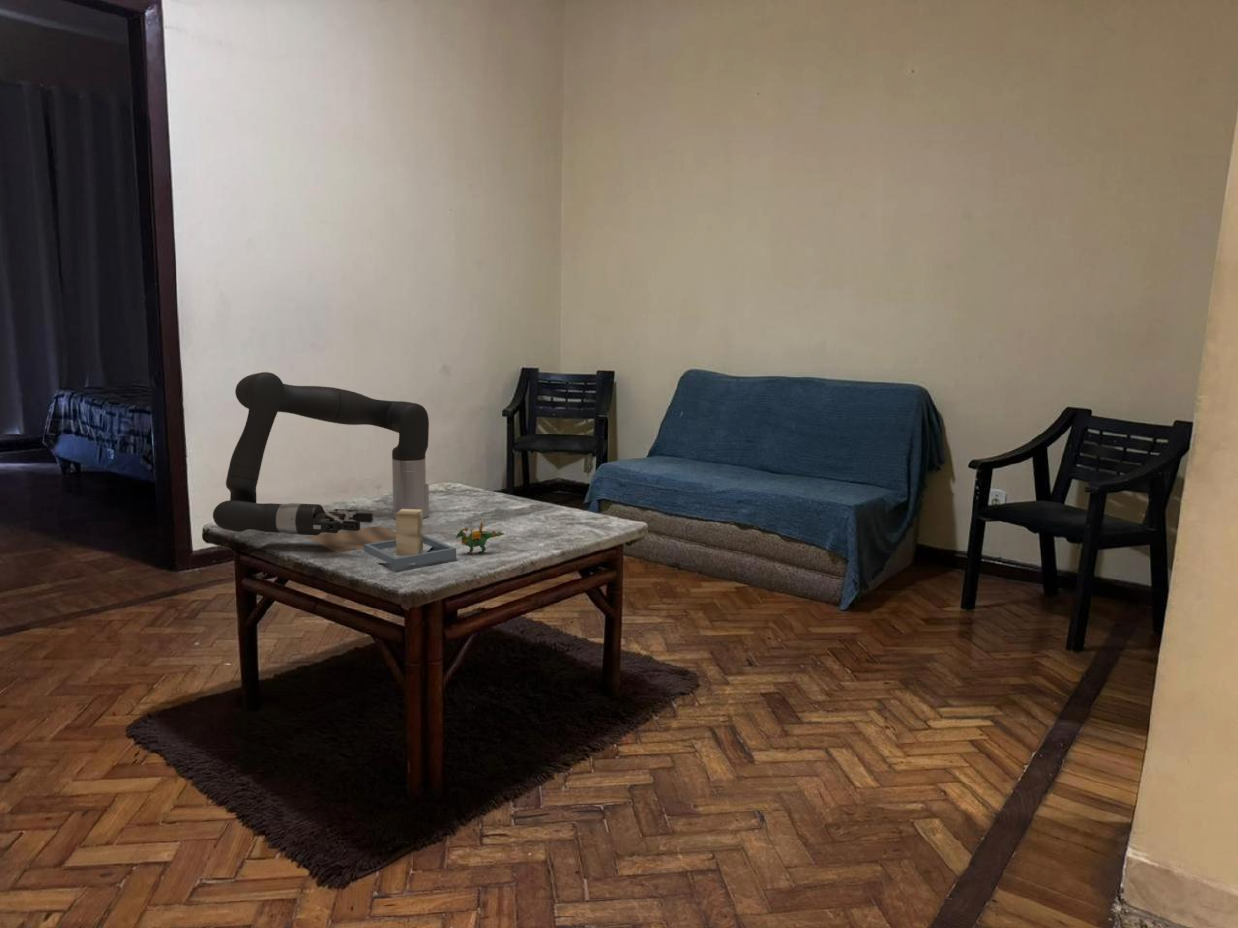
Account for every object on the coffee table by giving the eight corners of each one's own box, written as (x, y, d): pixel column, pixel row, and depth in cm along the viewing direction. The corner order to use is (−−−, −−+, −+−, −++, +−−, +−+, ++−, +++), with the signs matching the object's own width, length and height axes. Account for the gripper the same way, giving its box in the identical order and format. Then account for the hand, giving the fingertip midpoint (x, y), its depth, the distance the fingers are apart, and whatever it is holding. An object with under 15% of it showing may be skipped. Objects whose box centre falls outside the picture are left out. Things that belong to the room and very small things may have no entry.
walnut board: (380, 531, 235) (380, 525, 235) (412, 545, 222) (412, 539, 221) (307, 542, 222) (307, 536, 222) (336, 558, 209) (336, 552, 208)
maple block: (402, 552, 213) (402, 508, 211) (423, 553, 213) (422, 509, 211) (396, 558, 208) (395, 513, 206) (417, 559, 208) (416, 514, 206)
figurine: (455, 553, 216) (455, 521, 215) (503, 550, 220) (503, 518, 218) (456, 556, 213) (456, 524, 212) (505, 553, 217) (505, 521, 215)
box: (423, 546, 222) (423, 534, 221) (456, 560, 210) (456, 548, 209) (364, 556, 211) (363, 544, 211) (395, 572, 199) (395, 559, 199)
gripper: (286, 510, 203) (355, 513, 202) (312, 497, 217) (376, 500, 216) (288, 541, 204) (356, 544, 203) (313, 527, 218) (376, 529, 217)
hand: (366, 521), depth 210 cm, fingers open, 8 cm apart
